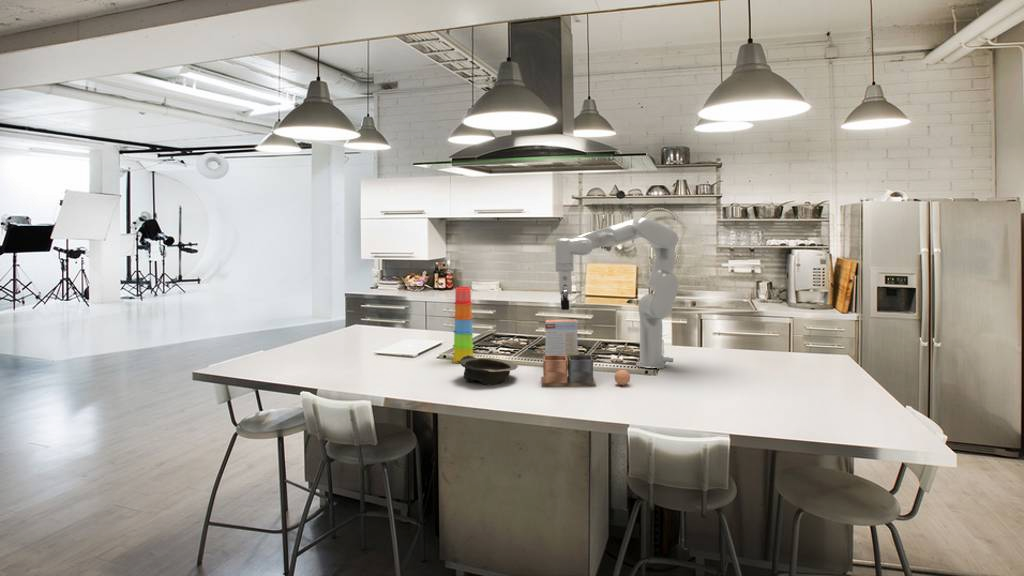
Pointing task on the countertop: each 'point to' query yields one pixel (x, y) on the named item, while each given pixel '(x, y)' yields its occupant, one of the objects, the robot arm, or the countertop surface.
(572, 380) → the double bin organizer
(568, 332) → the cracker box
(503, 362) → the stone bowl
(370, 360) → the countertop surface
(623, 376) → the ball
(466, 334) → the stacking cups
